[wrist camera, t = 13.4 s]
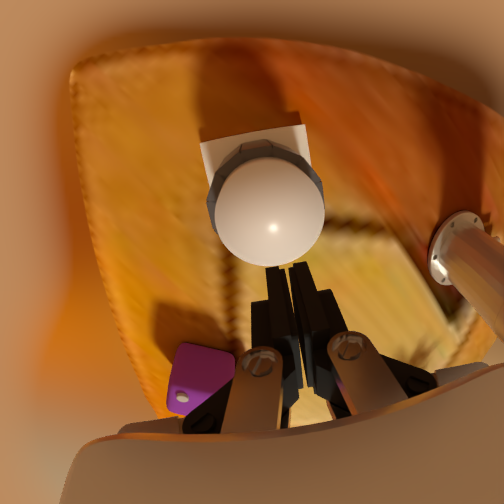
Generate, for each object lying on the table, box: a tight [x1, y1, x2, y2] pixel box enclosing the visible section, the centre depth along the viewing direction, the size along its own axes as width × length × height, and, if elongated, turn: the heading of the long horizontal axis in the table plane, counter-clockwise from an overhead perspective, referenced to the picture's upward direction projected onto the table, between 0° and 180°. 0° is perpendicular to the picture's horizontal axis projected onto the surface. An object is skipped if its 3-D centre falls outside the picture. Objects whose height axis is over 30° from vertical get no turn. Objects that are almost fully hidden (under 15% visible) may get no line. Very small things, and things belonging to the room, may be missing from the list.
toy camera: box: [166, 343, 235, 416], centre depth 39 cm, size 11×14×10 cm
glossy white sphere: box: [215, 157, 324, 266], centre depth 22 cm, size 8×8×7 cm
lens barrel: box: [200, 124, 325, 235], centre depth 26 cm, size 11×11×10 cm
